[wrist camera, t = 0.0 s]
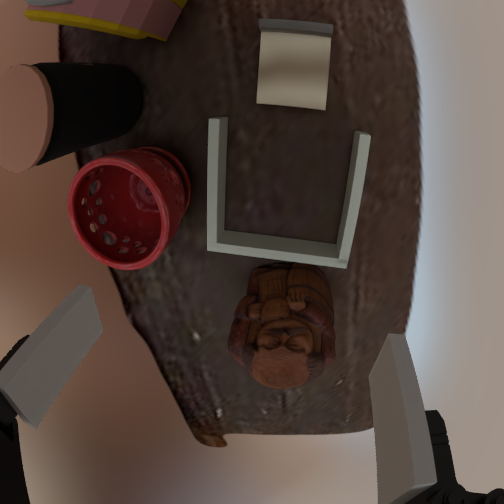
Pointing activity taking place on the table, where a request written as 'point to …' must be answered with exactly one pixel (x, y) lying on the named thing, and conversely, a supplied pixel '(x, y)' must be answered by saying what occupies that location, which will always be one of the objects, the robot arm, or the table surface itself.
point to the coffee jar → (62, 110)
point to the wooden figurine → (284, 325)
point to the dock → (272, 244)
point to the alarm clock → (111, 15)
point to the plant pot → (130, 204)
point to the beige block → (294, 63)
